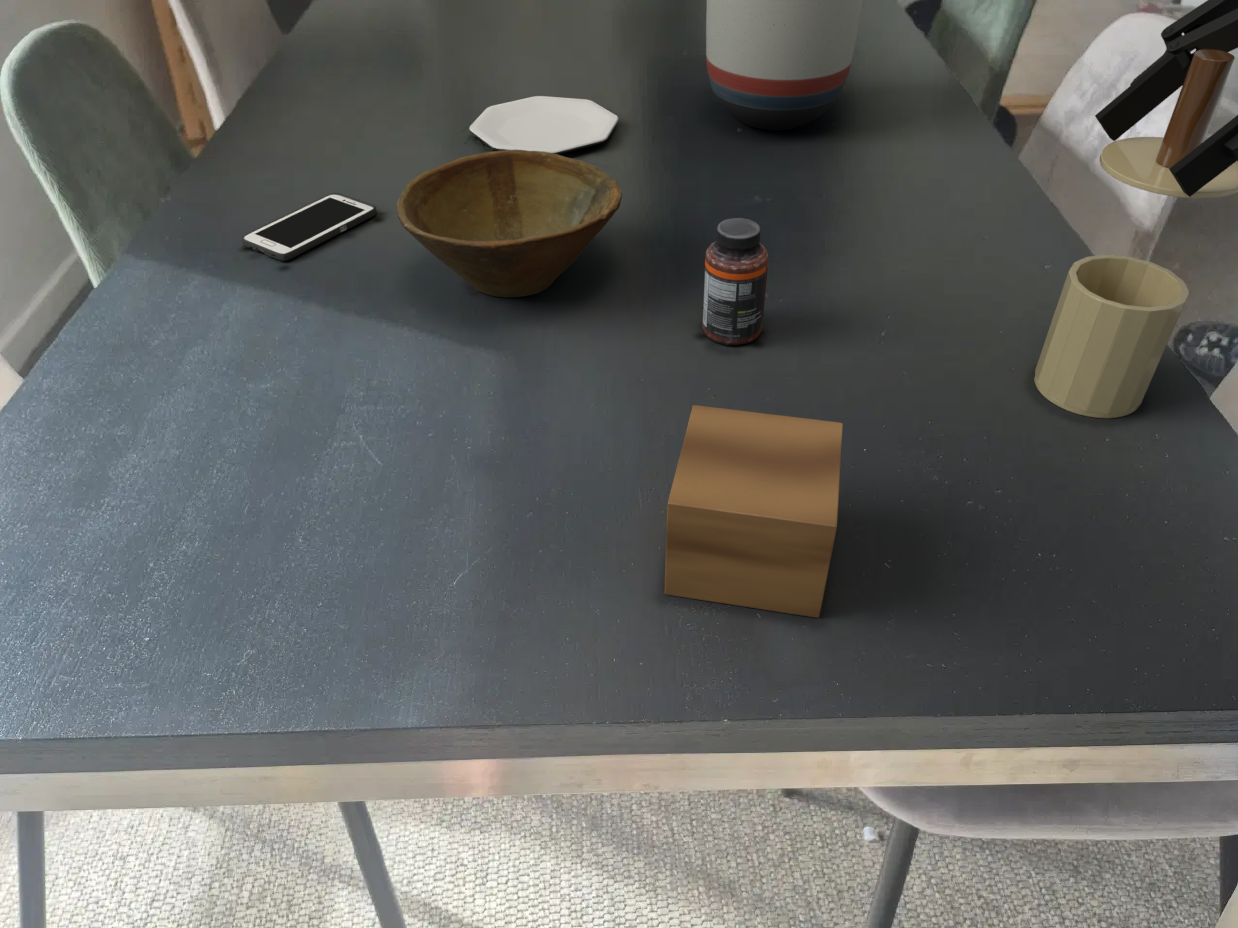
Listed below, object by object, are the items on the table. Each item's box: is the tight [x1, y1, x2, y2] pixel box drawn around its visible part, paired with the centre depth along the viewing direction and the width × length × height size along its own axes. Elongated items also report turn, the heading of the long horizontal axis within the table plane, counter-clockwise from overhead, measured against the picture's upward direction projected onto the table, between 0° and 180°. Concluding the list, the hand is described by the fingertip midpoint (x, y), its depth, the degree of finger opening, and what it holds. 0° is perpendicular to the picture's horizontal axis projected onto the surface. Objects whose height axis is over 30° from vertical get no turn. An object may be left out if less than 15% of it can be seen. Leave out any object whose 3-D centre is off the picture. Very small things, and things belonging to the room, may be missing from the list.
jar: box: [1033, 254, 1190, 419], centre depth 83 cm, size 9×9×11 cm
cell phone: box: [241, 192, 378, 262], centre depth 111 cm, size 8×15×1 cm, turn 145°
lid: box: [1098, 49, 1238, 199], centre depth 70 cm, size 10×10×8 cm
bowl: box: [395, 149, 623, 298], centre depth 100 cm, size 22×23×10 cm
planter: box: [705, 0, 864, 131], centre depth 129 cm, size 20×20×21 cm
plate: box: [469, 95, 620, 155], centre depth 133 cm, size 20×20×2 cm
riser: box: [664, 404, 844, 619], centre depth 68 cm, size 11×11×9 cm
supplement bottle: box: [701, 217, 769, 346], centre depth 91 cm, size 6×6×11 cm
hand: (1140, 154), depth 72 cm, fingers closed on lid, 10 cm apart
